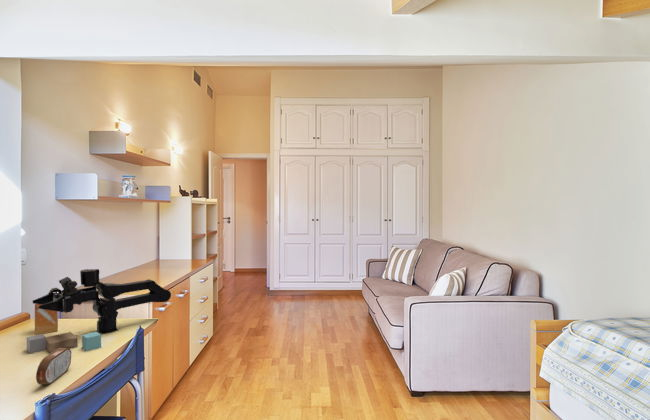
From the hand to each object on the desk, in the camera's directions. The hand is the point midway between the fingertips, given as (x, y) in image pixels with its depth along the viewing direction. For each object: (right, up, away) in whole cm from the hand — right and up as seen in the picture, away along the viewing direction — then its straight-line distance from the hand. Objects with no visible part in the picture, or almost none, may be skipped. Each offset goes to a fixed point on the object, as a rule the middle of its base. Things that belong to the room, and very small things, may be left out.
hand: (35, 304), depth 151 cm
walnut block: (+9, -17, +1) cm, 19 cm away
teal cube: (+21, -17, +1) cm, 27 cm away
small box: (-9, -16, +18) cm, 26 cm away
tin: (+25, -18, -25) cm, 39 cm away
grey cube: (+2, -17, -2) cm, 17 cm away
